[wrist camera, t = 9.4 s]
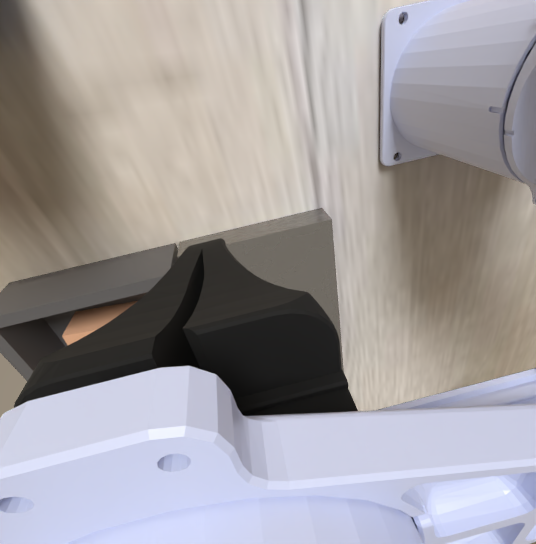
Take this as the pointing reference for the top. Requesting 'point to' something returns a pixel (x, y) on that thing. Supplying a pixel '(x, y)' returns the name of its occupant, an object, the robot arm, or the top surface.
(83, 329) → the tile
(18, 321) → the box
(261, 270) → the grey flat board
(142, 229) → the top surface
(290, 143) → the top surface
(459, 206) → the top surface
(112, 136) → the top surface
